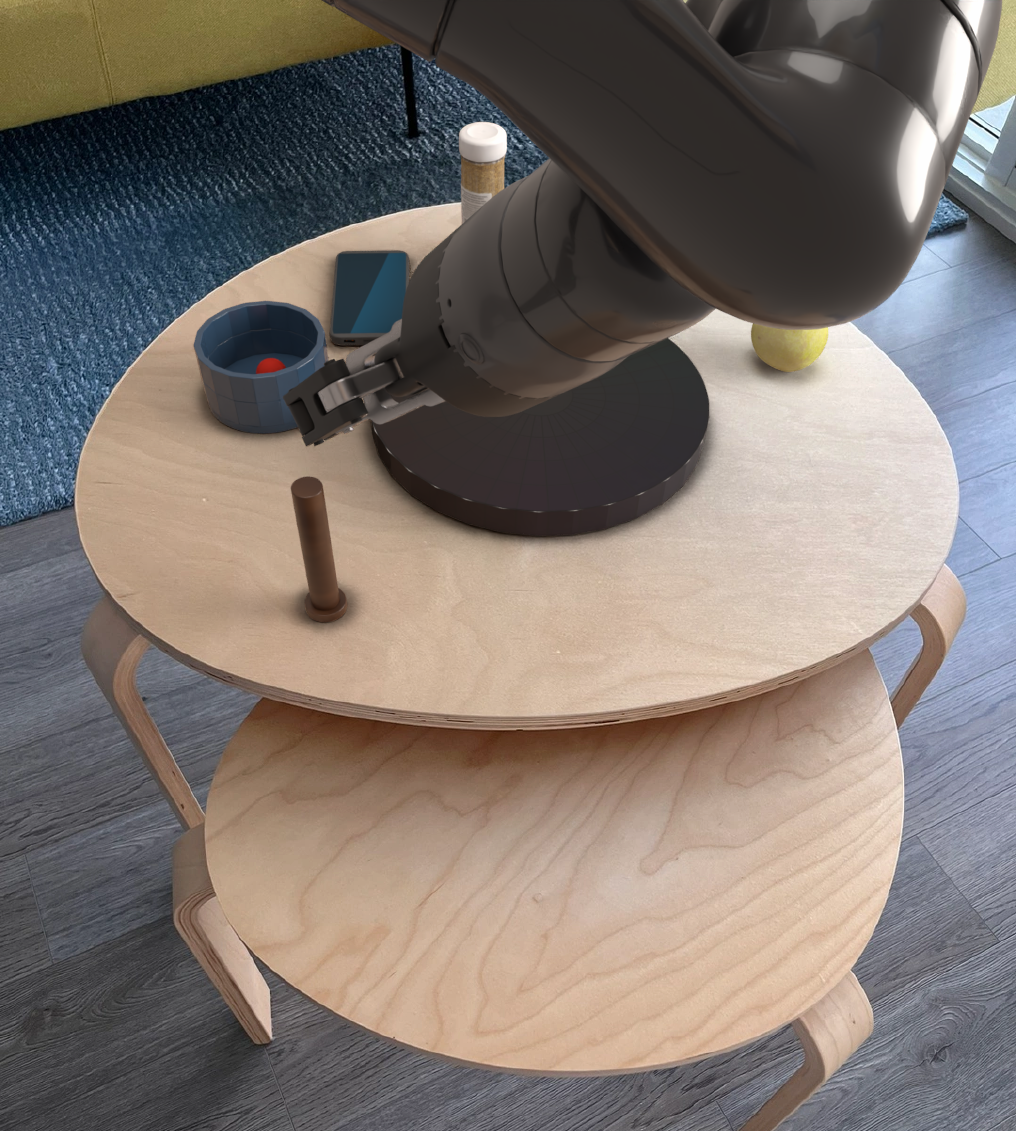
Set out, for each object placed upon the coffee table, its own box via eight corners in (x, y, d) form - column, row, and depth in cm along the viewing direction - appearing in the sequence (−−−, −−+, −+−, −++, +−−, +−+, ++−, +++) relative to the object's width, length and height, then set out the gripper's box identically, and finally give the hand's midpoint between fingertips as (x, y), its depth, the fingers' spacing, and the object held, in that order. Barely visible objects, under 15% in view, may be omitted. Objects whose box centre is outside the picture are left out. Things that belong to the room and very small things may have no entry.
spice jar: (513, 261, 117) (516, 131, 106) (481, 277, 115) (481, 147, 104) (483, 243, 119) (483, 114, 108) (451, 259, 117) (448, 130, 106)
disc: (565, 287, 114) (567, 260, 112) (774, 446, 99) (781, 419, 97) (308, 394, 103) (304, 366, 100) (501, 591, 88) (501, 565, 86)
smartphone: (329, 345, 107) (328, 337, 106) (336, 257, 116) (335, 249, 116) (409, 344, 107) (408, 336, 107) (409, 257, 117) (409, 248, 116)
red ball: (252, 370, 102) (246, 373, 99) (274, 350, 102) (269, 352, 99) (274, 394, 103) (268, 398, 100) (296, 374, 102) (291, 377, 100)
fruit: (784, 396, 104) (815, 280, 94) (726, 357, 107) (749, 241, 98) (832, 368, 106) (866, 253, 97) (773, 331, 110) (800, 216, 101)
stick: (332, 628, 85) (312, 508, 76) (297, 613, 86) (273, 492, 77) (355, 601, 87) (339, 480, 77) (320, 586, 88) (300, 465, 78)
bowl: (284, 449, 98) (274, 393, 93) (181, 407, 101) (166, 351, 96) (355, 380, 104) (349, 324, 99) (256, 343, 107) (245, 287, 103)
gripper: (634, 151, 45) (473, 274, 60) (329, 263, 40) (233, 368, 55) (703, 329, 47) (529, 406, 61) (418, 459, 41) (301, 510, 56)
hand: (390, 388), depth 58 cm, fingers open, 8 cm apart
